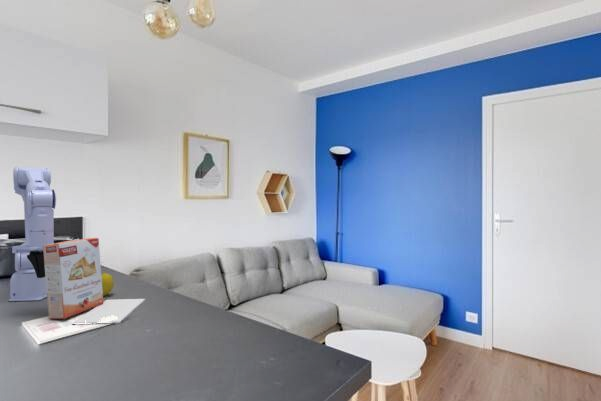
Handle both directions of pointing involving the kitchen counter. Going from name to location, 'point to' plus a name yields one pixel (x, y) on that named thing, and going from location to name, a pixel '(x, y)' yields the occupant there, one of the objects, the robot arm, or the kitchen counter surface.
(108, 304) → the white flat panel
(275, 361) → the kitchen counter surface
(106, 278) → the lemon
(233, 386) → the kitchen counter surface
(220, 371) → the kitchen counter surface
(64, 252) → the cracker box
